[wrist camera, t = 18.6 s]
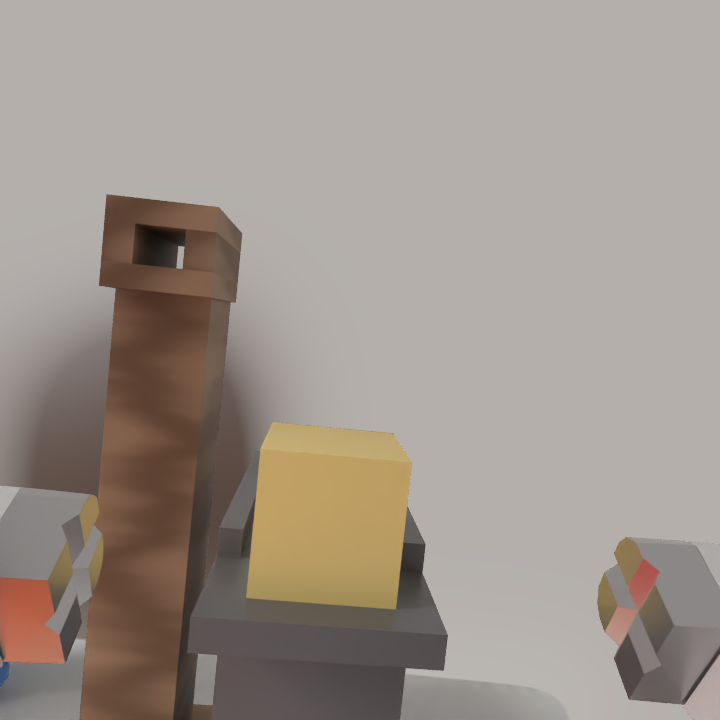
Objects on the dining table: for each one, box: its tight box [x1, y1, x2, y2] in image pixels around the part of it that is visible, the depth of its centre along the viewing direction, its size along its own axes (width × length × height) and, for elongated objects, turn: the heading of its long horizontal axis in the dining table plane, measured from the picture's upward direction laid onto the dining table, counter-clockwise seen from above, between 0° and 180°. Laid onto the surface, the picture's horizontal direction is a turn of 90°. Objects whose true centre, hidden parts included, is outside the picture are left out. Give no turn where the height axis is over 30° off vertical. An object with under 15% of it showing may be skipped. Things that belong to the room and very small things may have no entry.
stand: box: [80, 195, 242, 720], centre depth 31 cm, size 7×12×29 cm, turn 3°
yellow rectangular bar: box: [246, 422, 412, 609], centre depth 28 cm, size 4×17×4 cm, turn 3°
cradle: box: [187, 451, 448, 720], centre depth 27 cm, size 7×18×17 cm, turn 3°
